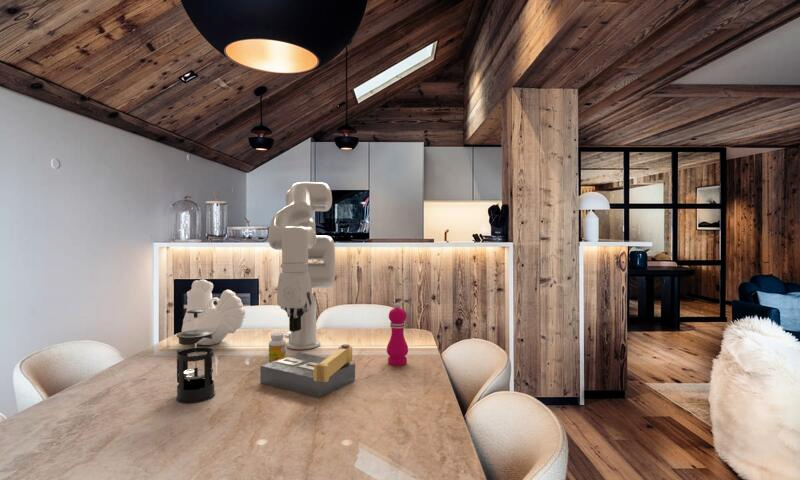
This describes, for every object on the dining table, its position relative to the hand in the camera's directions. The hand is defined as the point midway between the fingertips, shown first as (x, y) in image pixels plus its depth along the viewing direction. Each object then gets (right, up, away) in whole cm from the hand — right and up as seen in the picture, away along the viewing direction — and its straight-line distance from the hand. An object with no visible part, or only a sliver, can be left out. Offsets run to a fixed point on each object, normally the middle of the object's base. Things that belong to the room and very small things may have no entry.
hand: (295, 330), depth 128 cm
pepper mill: (+30, -15, +17) cm, 38 cm away
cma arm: (+13, -10, -9) cm, 18 cm away
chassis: (+4, -15, -1) cm, 15 cm away
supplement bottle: (-10, -15, +16) cm, 24 cm away
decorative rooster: (-41, -14, +40) cm, 59 cm away
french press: (-24, -15, -13) cm, 31 cm away
